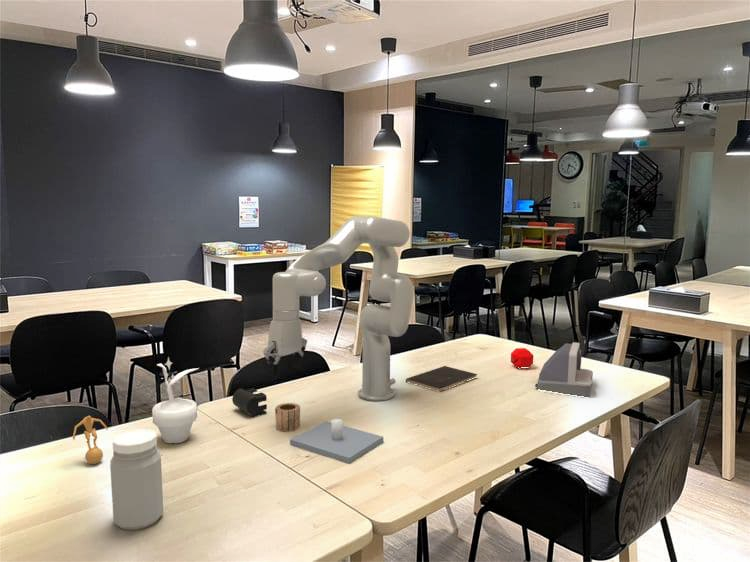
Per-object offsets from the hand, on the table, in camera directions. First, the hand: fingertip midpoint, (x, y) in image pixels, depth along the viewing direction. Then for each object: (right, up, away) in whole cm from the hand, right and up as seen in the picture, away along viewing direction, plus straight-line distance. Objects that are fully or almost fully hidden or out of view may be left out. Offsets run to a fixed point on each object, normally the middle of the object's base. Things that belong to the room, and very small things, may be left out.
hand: (286, 373), depth 163 cm
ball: (+86, -9, +65) cm, 108 cm away
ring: (0, -16, +2) cm, 16 cm away
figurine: (-46, -19, -21) cm, 54 cm away
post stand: (+15, -18, -9) cm, 25 cm away
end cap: (-14, -15, +14) cm, 25 cm away
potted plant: (-29, -18, -7) cm, 35 cm away
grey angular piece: (+95, -12, +41) cm, 104 cm away
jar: (-23, -23, -47) cm, 57 cm away
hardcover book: (+51, -11, +48) cm, 71 cm away
